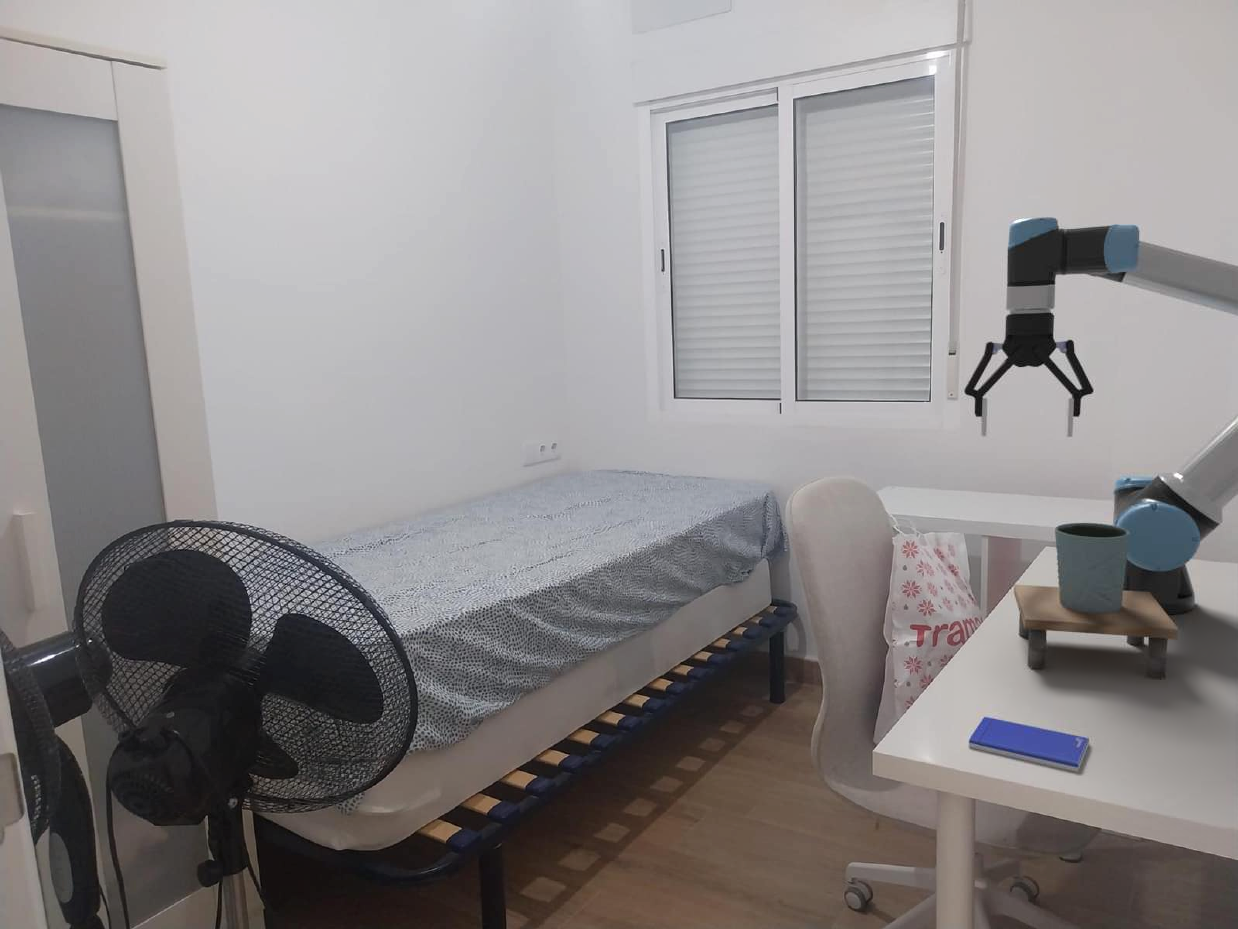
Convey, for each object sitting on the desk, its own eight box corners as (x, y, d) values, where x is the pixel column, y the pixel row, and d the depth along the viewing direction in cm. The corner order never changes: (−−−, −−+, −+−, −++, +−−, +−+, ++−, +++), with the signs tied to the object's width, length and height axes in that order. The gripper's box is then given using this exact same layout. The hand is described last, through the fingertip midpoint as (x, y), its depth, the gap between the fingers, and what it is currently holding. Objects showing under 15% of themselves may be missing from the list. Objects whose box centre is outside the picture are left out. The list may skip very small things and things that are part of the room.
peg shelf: (1146, 639, 147) (1149, 591, 146) (1175, 682, 130) (1178, 629, 129) (1012, 630, 154) (1014, 584, 152) (1023, 670, 137) (1025, 619, 135)
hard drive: (1089, 736, 113) (984, 714, 120) (1078, 763, 107) (968, 739, 114) (1088, 748, 113) (984, 726, 120) (1077, 776, 107) (968, 750, 114)
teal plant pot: (1135, 616, 135) (1139, 537, 133) (1062, 614, 137) (1065, 537, 135) (1113, 595, 145) (1116, 522, 143) (1044, 594, 147) (1047, 521, 145)
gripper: (1107, 309, 154) (1101, 433, 158) (951, 314, 162) (948, 432, 166) (1116, 309, 147) (1109, 439, 151) (952, 314, 155) (949, 437, 159)
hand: (1025, 435), depth 158 cm, fingers open, 13 cm apart
